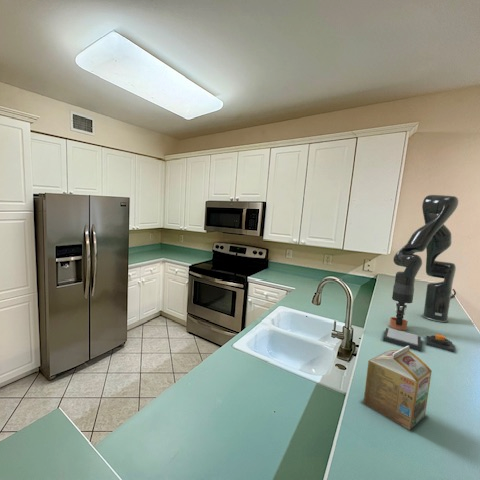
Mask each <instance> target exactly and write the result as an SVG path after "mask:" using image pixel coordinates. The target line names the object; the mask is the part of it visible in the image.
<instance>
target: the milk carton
mask: <svg viewBox="0 0 480 480" xmlns="http://www.w3.org/2000/svg"><path fill="white" fill-rule="evenodd" d="M431 378H432V369H431V368H430V367H429V366H428V364H427V363H425V362H424V361H423V360H422V359H421V358H420V357H419V356H417V355H416V354H415V353H414V352H412V351H411V349H409V346H406V347H402V348H400V349H392V350H391V349H390V350H387V351H384V352H382V353H380V354H378V355H377V356H374V357H372V358H371V359H369V360H368V362H367V370H366V378H365V379H366V380H365V387H364V396H363V404H364V405H365V406H366V407H367V406H368V407H369V408H371V409H372V410H373V411H376V412H378V413H379V414H380V415H383V416H384V417H387V418H388V419H390V420H392V421H393V422H395V423H397V424H398V425H400V426H402V427H403V428H405V429H407V430H409V431H411V429H413V427H414V428H415V425H417V424H418V423H419V422H420V421H421V420H423V419H424V418H425V416H426V411H427V405H428V398H429V392H430V385H431Z"/></svg>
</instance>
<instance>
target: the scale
mask: <svg viewBox="0 0 480 480" xmlns="http://www.w3.org/2000/svg"><path fill="white" fill-rule="evenodd" d="M382 341H383V342H386V343H389V344H392V345H396V346H399V347H402V348H404V347H406V346H409V350H413V351H417V352H421V350H422V337H421V336H420V335H418V334H414V333H410V332H406V331H401V330H396V329H394V328H392V327H386V328H385V331H384V334H383V340H382Z"/></svg>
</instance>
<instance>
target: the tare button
mask: <svg viewBox="0 0 480 480" xmlns="http://www.w3.org/2000/svg"><path fill="white" fill-rule="evenodd" d="M434 336H435V338H436V339H438V340H442V341H445V339H447V338H446V336H445V335H442V334H437V333H436V334H435V335H434Z"/></svg>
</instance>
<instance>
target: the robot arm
mask: <svg viewBox="0 0 480 480" xmlns="http://www.w3.org/2000/svg"><path fill="white" fill-rule="evenodd" d="M458 205H459V198H458V197H457V196H455V195H444V194H428V195H426V196H425V197H424V199H423V201H422V204H421V209H422V210H421V211H422V214H423V220H424V225H422V226H421V227H419V228H417V229H416V230H415V231H414V232H413V233H412V234H411V236H410V237H409V239H408V241H407V242H406V244H405V245H403V246H402V247H401V248H400V249H399V250H398V251H397V252H395V255H394V256H393V263H394V264H395V265H396V266H398V267H402V268H405V269H404V270H399V271H397V272H396V273H395V277H394V278H395V279H394V283H393V288H392V296H391V300H393V301H395V302H396V303H395V314H396V315H395V317H396V325H400V326H401V325H402V320H403V319H404V318H405V315H406V311H407V306H408V305H407V304H412V303H413V302H414V301H413V300H414V293H415V282H416V276H417V275H418V273H419V271H420V270H421V268H422V265H423V259H422V258H421V256H420V255H418V254H415V253H422V252H424V251H425V250H426V259H425V273H426V276H428V277H431V278H437V279H438V278H439V279H443V280H442V281H437V282H429V283H427V286H426V292H425V300H424V306H423V314H422V317H423V318H425V319H426V320H430V321H434V322H436V323H437V322H438V323H447V322H448V317H449V316H448V315H449V311H450V305H451V299H452V298H453V297H455V296H456V294H457V292H456V290H455V288H453V284H454V278H455V275H456V270H457V266H456V264H455V263H453V262H447V261H441V260H436V259H437V258H438V257H440V255H441V254H443V253H444V252H445V251H447V250H448V249H450V247H451V245H452V232H451V230H450V229H449V228H448V227H447V226H446V225H445V223H446V222H447V221H448V220H449V218H451V216H452V215H453V214H454V212H455V211H456V210H457V208H458ZM452 291H453V295H452Z"/></svg>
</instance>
